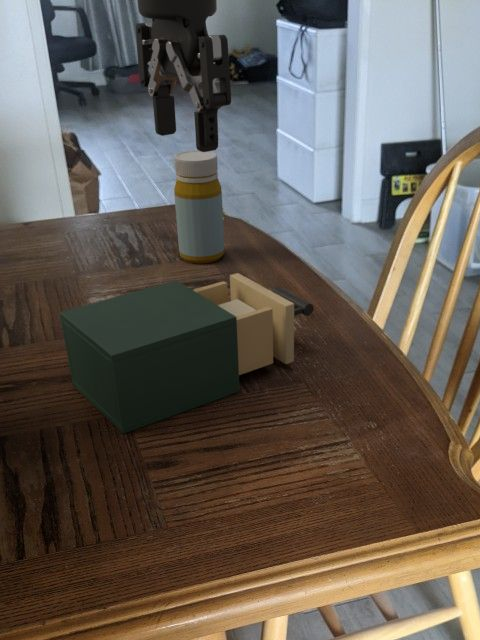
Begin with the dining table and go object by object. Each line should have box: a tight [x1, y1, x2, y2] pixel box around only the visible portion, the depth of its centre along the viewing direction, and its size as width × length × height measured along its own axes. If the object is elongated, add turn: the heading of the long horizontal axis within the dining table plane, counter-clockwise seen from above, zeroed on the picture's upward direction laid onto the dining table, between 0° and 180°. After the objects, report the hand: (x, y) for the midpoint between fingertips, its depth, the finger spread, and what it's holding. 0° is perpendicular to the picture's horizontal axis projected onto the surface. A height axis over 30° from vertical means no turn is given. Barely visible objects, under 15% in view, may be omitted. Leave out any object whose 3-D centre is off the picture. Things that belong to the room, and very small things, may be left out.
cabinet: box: [59, 279, 241, 435], centre depth 86 cm, size 15×13×9 cm
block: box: [218, 299, 256, 317], centre depth 91 cm, size 5×5×5 cm
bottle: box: [173, 149, 225, 265], centre depth 117 cm, size 7×7×15 cm
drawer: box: [192, 272, 315, 376], centre depth 91 cm, size 18×11×7 cm, turn 126°
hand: (186, 142), depth 82 cm, fingers open, 8 cm apart
